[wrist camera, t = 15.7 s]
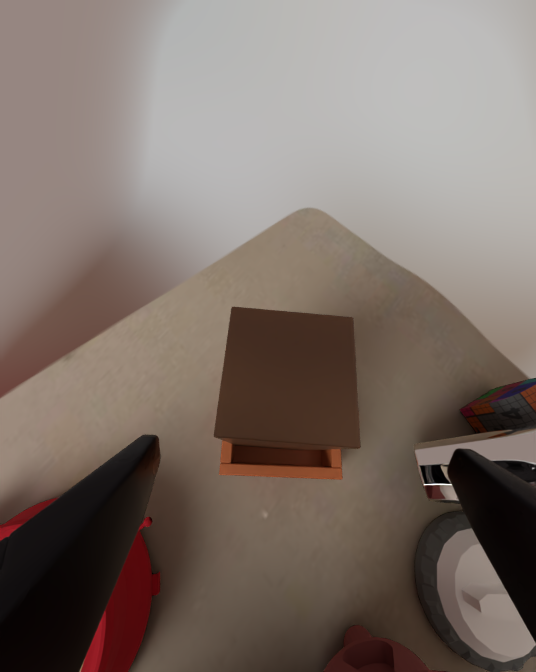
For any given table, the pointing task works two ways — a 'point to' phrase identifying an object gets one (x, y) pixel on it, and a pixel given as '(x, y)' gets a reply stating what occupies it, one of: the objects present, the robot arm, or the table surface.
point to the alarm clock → (115, 603)
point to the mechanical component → (373, 655)
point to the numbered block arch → (503, 407)
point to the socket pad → (280, 462)
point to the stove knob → (469, 597)
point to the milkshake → (498, 446)
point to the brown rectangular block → (289, 381)
